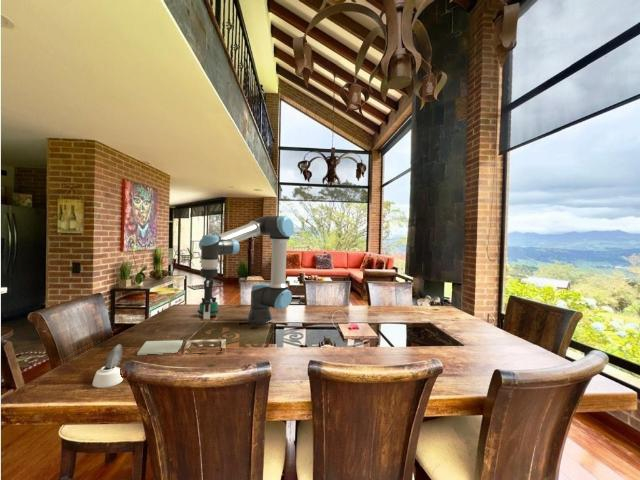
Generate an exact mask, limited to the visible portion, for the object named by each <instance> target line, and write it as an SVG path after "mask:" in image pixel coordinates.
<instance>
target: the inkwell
mask: <svg viewBox="0 0 640 480" xmlns="http://www.w3.org/2000/svg"><path fill="white" fill-rule="evenodd" d="M122 357H123V346H122V345H121V343H118V344H117V345H115V346H114V347H113V348H112V350H111V351H109V355H107V356H106V360H105V365H104V366H103V367H100V369H97V371H96V372H95V374H94V377H93V380H92V382H91V383H92V386H93V387H94V388H99V389H100V388H101V389H102V388H103V389H105V388H110V387H114V386H116V385H119V384H120V383H122V382H123V380H124V377H123V378H122V377H121V375H120V369H121V367H118V366H119V365H120V364H121V362H122V361H123V360H122Z"/></svg>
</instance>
